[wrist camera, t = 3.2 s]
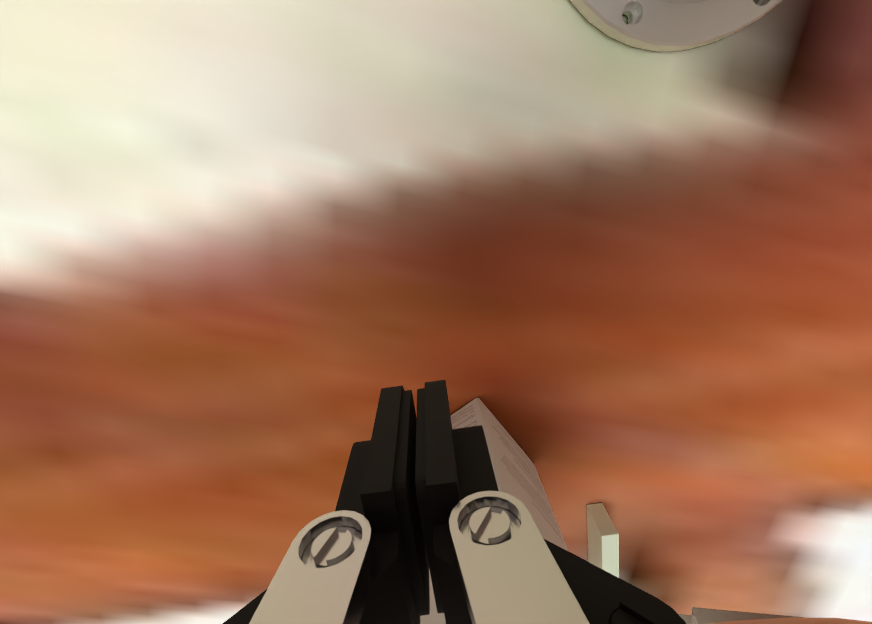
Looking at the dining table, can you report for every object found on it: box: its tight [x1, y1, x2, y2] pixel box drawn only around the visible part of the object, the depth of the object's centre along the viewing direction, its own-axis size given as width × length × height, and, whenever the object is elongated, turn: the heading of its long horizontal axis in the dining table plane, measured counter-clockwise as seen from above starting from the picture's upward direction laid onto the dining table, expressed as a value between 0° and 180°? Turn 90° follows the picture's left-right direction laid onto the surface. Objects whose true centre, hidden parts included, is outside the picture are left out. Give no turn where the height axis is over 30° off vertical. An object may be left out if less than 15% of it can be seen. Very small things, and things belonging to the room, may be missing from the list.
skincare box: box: [420, 398, 569, 624], centre depth 19 cm, size 8×7×16 cm
